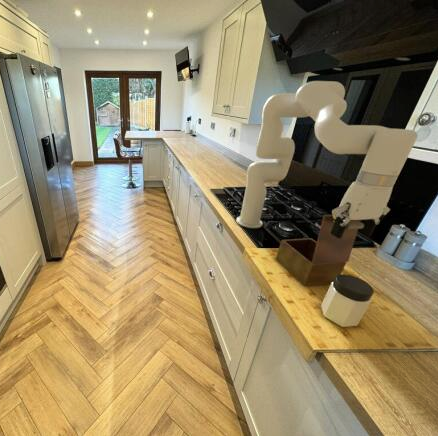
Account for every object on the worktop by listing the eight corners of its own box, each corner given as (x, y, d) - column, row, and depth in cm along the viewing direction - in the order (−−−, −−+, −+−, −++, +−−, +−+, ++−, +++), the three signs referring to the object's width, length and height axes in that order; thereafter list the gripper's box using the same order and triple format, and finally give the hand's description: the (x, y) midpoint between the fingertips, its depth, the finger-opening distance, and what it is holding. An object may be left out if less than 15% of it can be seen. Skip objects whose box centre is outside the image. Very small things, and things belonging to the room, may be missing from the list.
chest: (275, 258, 94) (281, 239, 90) (304, 256, 95) (311, 238, 91) (303, 285, 80) (312, 264, 76) (336, 282, 81) (346, 262, 77)
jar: (340, 303, 73) (356, 272, 67) (364, 326, 65) (384, 293, 60) (313, 305, 72) (327, 274, 67) (335, 328, 65) (352, 295, 59)
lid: (323, 215, 71) (338, 220, 66) (360, 213, 72) (377, 218, 67) (311, 263, 76) (325, 271, 71) (346, 260, 78) (361, 268, 73)
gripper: (389, 174, 66) (363, 227, 74) (334, 175, 64) (313, 230, 72) (420, 182, 60) (388, 240, 67) (360, 184, 57) (334, 243, 65)
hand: (350, 235), depth 69 cm, fingers open, 9 cm apart
